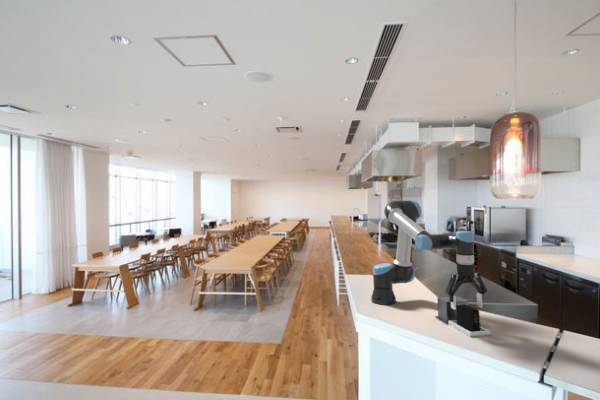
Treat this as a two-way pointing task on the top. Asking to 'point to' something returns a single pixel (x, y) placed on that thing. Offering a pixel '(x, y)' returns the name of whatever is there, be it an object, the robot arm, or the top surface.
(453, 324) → the tray
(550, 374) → the top surface
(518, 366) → the top surface
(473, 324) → the electronic device
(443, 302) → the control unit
